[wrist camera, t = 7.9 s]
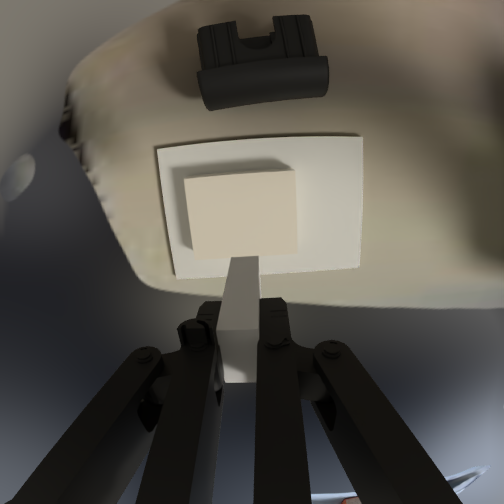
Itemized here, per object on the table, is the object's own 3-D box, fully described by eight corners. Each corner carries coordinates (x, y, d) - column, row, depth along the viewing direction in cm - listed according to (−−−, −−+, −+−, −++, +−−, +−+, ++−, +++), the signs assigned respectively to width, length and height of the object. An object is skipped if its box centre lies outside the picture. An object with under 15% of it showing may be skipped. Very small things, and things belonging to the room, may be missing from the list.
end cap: (213, 113, 27) (201, 109, 21) (202, 47, 24) (188, 27, 18) (316, 100, 26) (334, 92, 20) (304, 34, 24) (318, 11, 18)
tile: (295, 170, 27) (183, 179, 27) (297, 253, 30) (194, 260, 30) (292, 168, 28) (188, 175, 29) (294, 246, 31) (198, 252, 32)
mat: (360, 136, 28) (362, 136, 27) (357, 265, 33) (359, 267, 32) (158, 148, 28) (157, 149, 28) (177, 276, 34) (176, 279, 33)
